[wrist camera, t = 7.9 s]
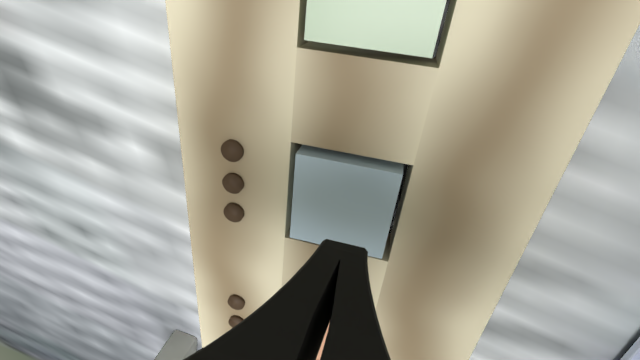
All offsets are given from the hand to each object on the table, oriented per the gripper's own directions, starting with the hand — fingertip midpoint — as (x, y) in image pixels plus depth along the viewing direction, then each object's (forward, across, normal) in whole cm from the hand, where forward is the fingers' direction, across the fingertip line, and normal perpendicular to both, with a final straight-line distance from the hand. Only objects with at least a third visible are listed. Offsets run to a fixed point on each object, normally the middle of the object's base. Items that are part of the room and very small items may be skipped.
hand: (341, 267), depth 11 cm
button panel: (+5, +1, 0) cm, 5 cm away
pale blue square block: (+5, +1, 0) cm, 5 cm away
